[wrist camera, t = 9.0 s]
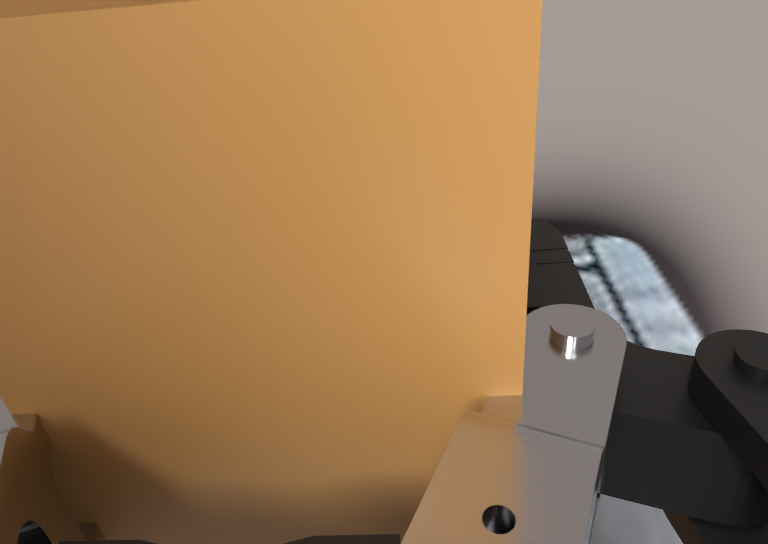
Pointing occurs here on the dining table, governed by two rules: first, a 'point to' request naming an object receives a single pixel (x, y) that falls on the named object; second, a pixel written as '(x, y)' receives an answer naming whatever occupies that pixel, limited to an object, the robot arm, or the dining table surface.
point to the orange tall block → (261, 252)
